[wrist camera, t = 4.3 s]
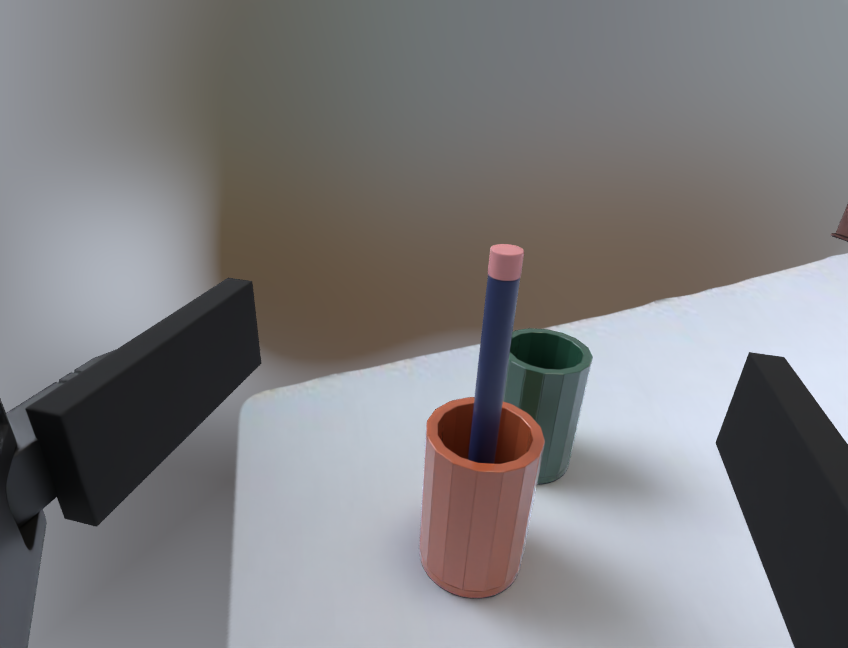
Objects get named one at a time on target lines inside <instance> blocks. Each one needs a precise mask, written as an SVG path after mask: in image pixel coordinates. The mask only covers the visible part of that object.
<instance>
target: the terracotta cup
mask: <svg viewBox="0 0 848 648" xmlns="http://www.w3.org/2000/svg"><path fill="white" fill-rule="evenodd" d="M474 399H475V397H468V398H463V399H458V400H452V401H450V402H448V403H446V404H444V405H442V406H440V407H439V408H437V409H435V411H434V412H433V413H432V415H431V416H430V417H429V419H428V420H427V424H426V441H425V457H424V474H423V490H422V507H421V523H420V543H419V555H420V560H421V563H422V566H423V568H424V570H425V571H426V573H427V574H428V576H429V577H430V578H431V579H432V580H433V581H434V582H435V583H436V584H437V585H438V586H440V587H441V588H443V589H444V590H446V591H448V592H450V593H452V594H455V595H458V596H462V597H467V598H484V597H489V596H493V595H496V594H498V593H500V592H502V591H504V590H505V589H506V588H508V587H509V586H510V585H511V584H512V583H513V582H514V580H515V579H516V577H517V575H518V573H519V571H520V566H521V562H522V558H523V555H524V549H525V544H526V539H527V534H528V528H529V523H530V518H531V513H532V507H533V502H534V497H535V492H536V487H537V481H538V476H539V471H540V466H541V460H542V455H543V450H544V445H545V440H544V437H543V433H542V430H541V427H540V426H539V424H538V423H537V422H536V421H535V420H534V419H533V418H532V417H531V416H530V415H529V414H528V413H527V412H525V411H523V410H521V409H520V408H518V407H516V406H514V405H512V404H510V403H507V402H503V404H502V411H501V418H500V425H499V433H498V440H497V447H496V454H495V462H494V464H490V463H477V462H474V461H471V460H468V454H469V445H470V436H471V427H472V417H473V408H474Z"/></svg>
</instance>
